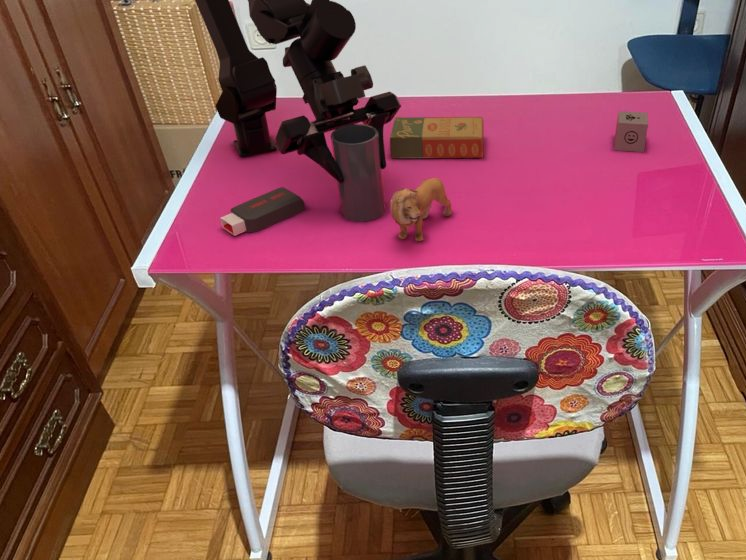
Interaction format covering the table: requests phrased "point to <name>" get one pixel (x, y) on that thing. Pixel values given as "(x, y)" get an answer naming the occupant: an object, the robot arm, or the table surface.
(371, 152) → the pen pot
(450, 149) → the carton
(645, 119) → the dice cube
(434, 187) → the lion figurine
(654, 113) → the table surface
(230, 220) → the usb drive
